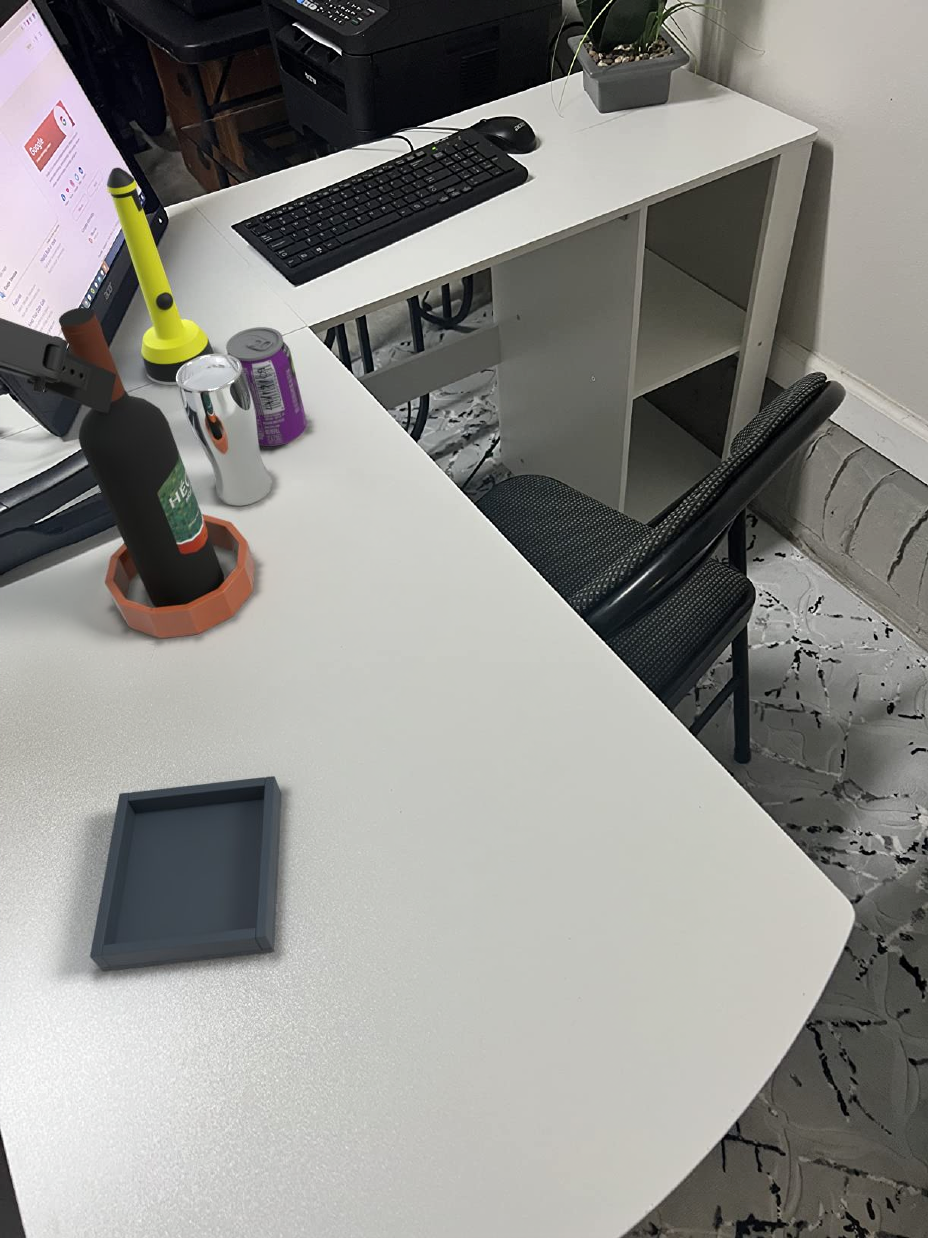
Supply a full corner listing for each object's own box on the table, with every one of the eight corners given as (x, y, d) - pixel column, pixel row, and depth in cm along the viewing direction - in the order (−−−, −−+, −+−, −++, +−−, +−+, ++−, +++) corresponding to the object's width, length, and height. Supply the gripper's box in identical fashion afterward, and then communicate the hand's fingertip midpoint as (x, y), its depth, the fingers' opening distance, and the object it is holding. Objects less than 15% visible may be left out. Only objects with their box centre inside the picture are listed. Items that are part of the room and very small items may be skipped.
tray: (102, 971, 70) (89, 957, 68) (129, 810, 80) (119, 793, 78) (274, 952, 70) (266, 936, 69) (281, 792, 80) (274, 775, 78)
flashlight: (62, 168, 107) (93, 194, 102) (137, 144, 110) (170, 167, 105) (135, 363, 126) (164, 393, 120) (197, 338, 129) (227, 365, 124)
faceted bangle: (90, 614, 95) (77, 590, 93) (173, 527, 103) (163, 502, 101) (202, 653, 91) (192, 628, 88) (279, 558, 99) (272, 533, 96)
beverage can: (319, 421, 114) (299, 330, 105) (287, 456, 110) (264, 365, 101) (269, 409, 117) (245, 319, 108) (236, 443, 112) (208, 353, 103)
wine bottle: (155, 563, 100) (39, 296, 77) (227, 556, 99) (132, 287, 77) (143, 617, 94) (16, 348, 72) (220, 609, 94) (116, 337, 72)
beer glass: (289, 480, 107) (258, 363, 96) (246, 516, 103) (209, 399, 92) (243, 461, 110) (208, 345, 99) (200, 495, 106) (159, 379, 95)
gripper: (-445, 307, 53) (-101, 413, 73) (-132, 350, 44) (163, 457, 64) (-416, 175, 53) (-80, 316, 73) (-98, 191, 44) (186, 347, 64)
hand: (34, 382), depth 69 cm, fingers open, 13 cm apart
